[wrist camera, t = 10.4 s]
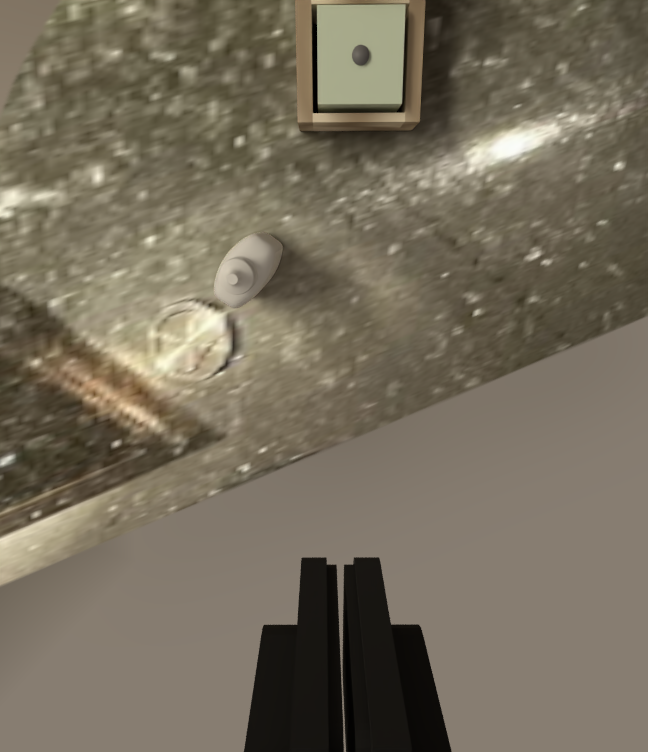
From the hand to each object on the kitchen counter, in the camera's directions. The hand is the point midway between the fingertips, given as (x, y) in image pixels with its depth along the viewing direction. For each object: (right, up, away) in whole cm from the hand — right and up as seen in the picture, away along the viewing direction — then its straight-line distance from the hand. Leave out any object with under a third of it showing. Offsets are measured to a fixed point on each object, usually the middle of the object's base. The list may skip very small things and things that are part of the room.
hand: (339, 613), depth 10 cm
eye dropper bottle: (-6, +15, +32) cm, 36 cm away
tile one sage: (+2, +29, +27) cm, 39 cm away
